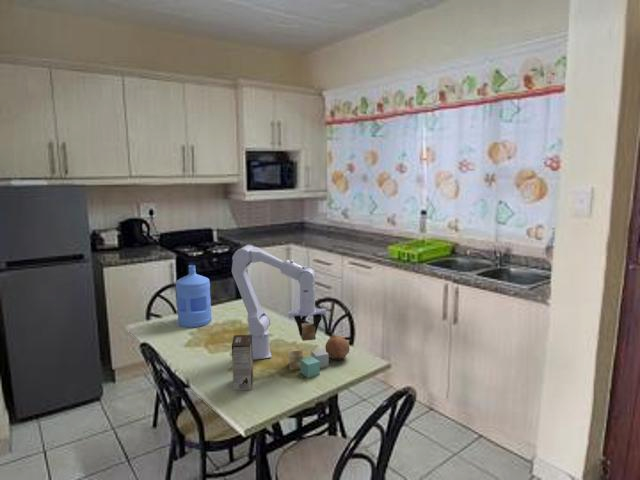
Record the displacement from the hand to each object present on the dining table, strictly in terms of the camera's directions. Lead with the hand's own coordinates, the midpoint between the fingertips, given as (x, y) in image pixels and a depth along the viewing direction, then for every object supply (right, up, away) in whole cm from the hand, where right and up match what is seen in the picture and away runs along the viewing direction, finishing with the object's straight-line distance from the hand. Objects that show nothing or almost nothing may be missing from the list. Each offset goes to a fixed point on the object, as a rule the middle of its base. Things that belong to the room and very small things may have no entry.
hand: (307, 333), depth 169 cm
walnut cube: (0, -2, 0) cm, 2 cm away
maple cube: (-4, -11, -5) cm, 13 cm away
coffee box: (-22, -14, -18) cm, 31 cm away
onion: (+12, -10, +2) cm, 16 cm away
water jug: (-56, -4, +42) cm, 70 cm away
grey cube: (+5, -11, -4) cm, 13 cm away
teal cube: (+1, -12, -10) cm, 16 cm away
